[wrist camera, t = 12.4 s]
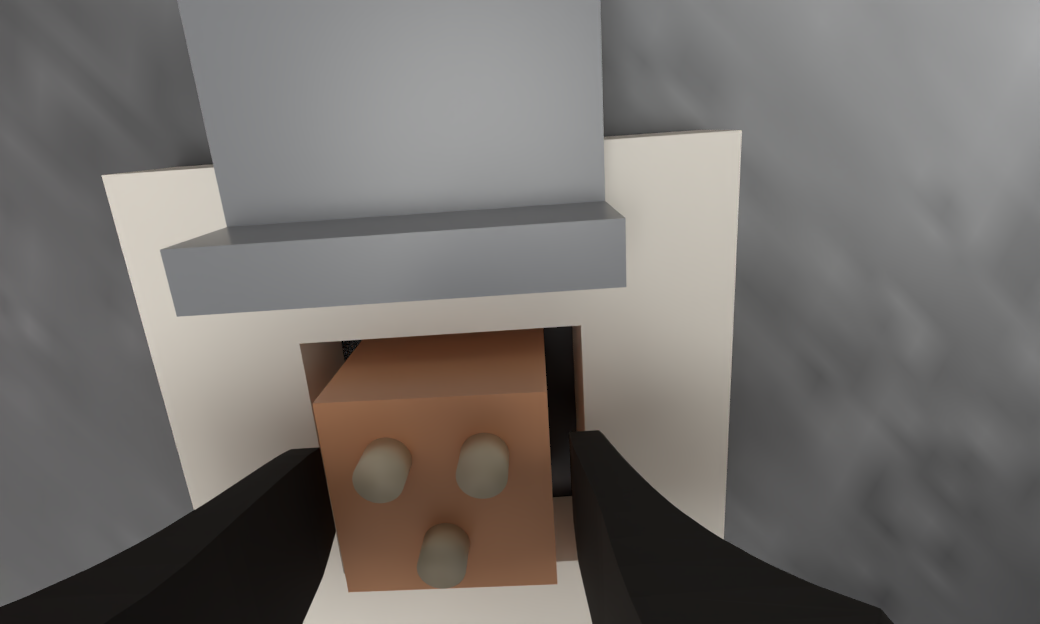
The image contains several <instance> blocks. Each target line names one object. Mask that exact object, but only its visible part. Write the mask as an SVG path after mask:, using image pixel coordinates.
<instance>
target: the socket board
mask: <svg viewBox="0 0 1040 624" xmlns="http://www.w3.org/2000/svg"><path fill="white" fill-rule="evenodd" d="M741 138H742V130H692V131H678V132H664V133H650V134H635V135H621V136H607V137H604V170H605V201H606V202H607V203H608V204H609V205H611V206H612V207H613V208H614V209H615V210H616V211H618V212H619V213H620V214H621V215H622V216H624V217H625V218H626V287H620V288H604V289H589V290H574V291H559V292H544V293H529V294H514V295H498V296H483V297H468V298H453V299H438V300H423V301H408V302H392V303H377V304H362V305H347V306H332V307H317V308H302V309H286V310H271V311H256V312H241V313H226V314H211V315H196V316H180V317H177V315H176V311H175V307H174V304H173V300H172V296H171V292H170V288H169V284H168V280H167V276H166V272H165V269H164V265H163V261H162V257H161V253H160V250H161V249H164V248H166V247H169V246H172V245H175V244H178V243H181V242H184V241H187V240H190V239H193V238H196V237H199V236H202V235H205V234H208V233H211V232H214V231H217V230H220V229H223V228H226V227H227V225H226V221H225V216H224V212H223V207H222V202H221V198H220V193H219V189H218V184H217V180H216V175H215V170H214V166H213V164H211V165H197V166H183V167H171V168H163V169H154V170H145V171H136V172H127V173H118V174H109V175H102V179H103V182H104V186H105V190H106V193H107V197H108V200H109V204H110V208H111V211H112V215H113V219H114V222H115V226H116V229H117V233H118V237H119V240H120V244H121V248H122V251H123V255H124V258H125V262H126V266H127V269H128V273H129V276H130V280H131V284H132V287H133V291H134V295H135V298H136V302H137V305H138V309H139V313H140V316H141V320H142V323H143V327H144V331H145V334H146V338H147V342H148V345H149V349H150V352H151V356H152V360H153V363H154V367H155V371H156V374H157V378H158V381H159V385H160V389H161V392H162V396H163V399H164V403H165V407H166V410H167V414H168V418H169V421H170V425H171V428H172V432H173V436H174V439H175V443H176V447H177V450H178V454H179V457H180V461H181V465H182V468H183V472H184V475H185V479H186V483H187V486H188V490H189V494H190V497H191V501H192V504H193V508H194V510H195V509H197V508H199V507H200V506H202V505H203V504H205V503H207V502H208V501H210V500H211V499H213V498H214V497H216V496H217V495H219V494H220V493H222V492H224V491H225V490H227V489H228V488H230V487H231V486H233V485H234V484H236V483H237V482H239V481H240V480H242V479H243V478H245V477H246V476H248V475H249V474H251V473H252V472H254V471H255V470H257V469H258V468H260V467H261V466H263V465H264V464H266V463H268V462H269V461H271V460H272V459H274V458H276V457H277V456H279V455H281V454H282V453H284V452H286V451H288V450H290V449H301V448H317V447H320V450H321V446H320V441H319V435H318V430H317V425H316V420H315V414H314V409H313V404H312V403H313V402H314V401H315V400H316V398H317V397H318V396H319V395H320V393H321V392H322V391H323V389H324V388H325V387H326V386H327V384H328V383H329V382H330V381H331V379H332V378H333V377H334V375H335V374H336V373H337V372H338V370H339V369H340V368H341V366H342V365H343V364H344V363H345V360H344V354H343V348H342V342H341V341H348V340H363V339H379V338H394V337H409V336H425V335H440V334H456V333H471V332H486V331H502V330H517V329H533V328H548V327H563V326H572V336H573V359H574V382H575V405H576V428H577V431H593V430H599V431H600V432H601V433H603V434H604V435H605V437H606V438H607V439H608V440H609V442H610V443H611V444H612V445H613V446H614V447H615V449H616V450H617V451H618V452H619V453H620V454H621V455H622V456H623V458H624V459H625V460H626V461H627V462H628V463H629V464H630V465H631V466H632V467H633V468H634V469H635V470H636V471H637V472H638V473H639V474H640V475H641V476H642V477H643V478H644V479H645V480H646V481H647V482H648V483H649V484H650V485H651V486H652V487H653V488H654V489H655V490H657V491H658V492H659V493H660V494H661V495H662V496H663V497H665V498H666V499H667V500H668V501H669V502H670V503H672V504H673V505H674V506H675V507H677V508H678V509H679V510H681V511H682V512H683V513H685V514H686V515H687V516H689V517H690V518H692V519H693V520H695V521H696V522H698V523H699V524H700V525H702V526H703V527H705V528H706V529H708V530H709V531H711V532H712V533H714V534H716V535H717V536H719V537H720V538H722V539H724V523H725V501H726V478H727V455H728V433H729V410H730V387H731V365H732V342H733V319H734V297H735V274H736V251H737V229H738V206H739V183H740V161H741ZM321 455H322V451H321ZM322 461H323V456H322ZM323 466H324V462H323ZM324 471H325V467H324ZM325 476H326V472H325ZM326 481H327V477H326ZM327 486H328V483H327ZM328 492H329V488H328ZM329 497H330V493H329ZM330 502H331V498H330ZM331 507H332V504H331ZM553 510H554V528H555V547H556V565H557V583H558V584H553V585H527V586H501V587H474V588H448V589H422V590H396V591H370V592H348V587H347V582H346V577H345V572H344V566H343V561H342V556H341V551H340V545H339V540H338V535H337V530H336V533H335V537H334V541H333V544H332V548H331V552H330V556H329V559H328V562H327V565H326V569H325V572H324V575H323V578H322V580H321V583H320V585H319V587H318V590H317V592H316V594H315V597H314V599H313V601H312V603H311V606H310V608H309V610H308V613H307V615H306V617H305V619H304V622H303V624H592V620H591V615H590V611H589V607H588V603H587V598H586V594H585V590H584V585H583V581H582V577H581V572H580V568H579V563H578V556H577V548H576V539H575V530H574V522H573V507H572V496H565V497H553ZM332 512H333V509H332ZM333 518H334V514H333ZM334 523H335V519H334ZM335 528H336V525H335Z"/></svg>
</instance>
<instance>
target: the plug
mask: <svg viewBox="0 0 1040 624" xmlns="http://www.w3.org/2000/svg"><path fill="white" fill-rule="evenodd" d="M312 404H313V409H314V414H315V420H316V425H317V430H318V435H319V441H320V446H321V451H322V456H323V462H324V467H325V472H326V477H327V483H328V488H329V493H330V498H331V504H332V509H333V514H334V519H335V525H336V530H337V535H338V540H339V545H340V551H341V556H342V561H343V566H344V572H345V577H346V582H347V587H348V592H370V591H396V590H422V589H448V588H474V587H501V586H527V585H553V584H558V583H557V565H556V547H555V528H554V510H553V492H552V474H551V456H550V437H549V419H548V401H547V383H546V367H545V350H544V333H543V328H533V329H517V330H502V331H486V332H471V333H456V334H440V335H425V336H409V337H394V338H379V339H363V340H362V341H361V342H360V343H359V345H358V346H357V347H356V349H355V350H354V351H353V352H352V354H351V355H350V356H349V358H348V359H347V360H346V361H345V363H344V364H343V365H342V366H341V368H340V369H339V370H338V372H337V373H336V374H335V375H334V377H333V378H332V379H331V381H330V382H329V383H328V384H327V386H326V387H325V388H324V389H323V391H322V392H321V393H320V395H319V396H318V397H317V398H316V400H315V401H314V402H313V403H312Z"/></svg>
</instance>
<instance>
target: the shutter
mask: <svg viewBox="0 0 1040 624" xmlns="http://www.w3.org/2000/svg"><path fill="white" fill-rule="evenodd" d="M177 2H178V6H179V11H180V15H181V20H182V24H183V29H184V34H185V38H186V43H187V47H188V52H189V56H190V61H191V66H192V70H193V75H194V79H195V84H196V88H197V93H198V97H199V102H200V107H201V111H202V116H203V120H204V125H205V129H206V134H207V139H208V143H209V148H210V152H211V157H212V161H213V166H214V170H215V175H216V180H217V184H218V189H219V193H220V198H221V202H222V207H223V212H224V216H225V221H226V225H227V227H226V228H223V229H220V230H217V231H214V232H211V233H208V234H205V235H202V236H199V237H196V238H193V239H190V240H187V241H184V242H181V243H178V244H175V245H172V246H169V247H166V248H164V249H161V250H160V253H161V257H162V261H163V265H164V269H165V272H166V276H167V280H168V284H169V288H170V292H171V296H172V300H173V304H174V307H175V311H176V315H177V317H180V316H196V315H211V314H226V313H241V312H256V311H271V310H286V309H302V308H317V307H332V306H347V305H362V304H377V303H392V302H408V301H423V300H438V299H453V298H468V297H483V296H498V295H514V294H529V293H544V292H559V291H574V290H589V289H604V288H620V287H626V218H625V217H624V216H622V215H621V214H620V213H619V212H618V211H616V210H615V209H614V208H613V207H612V206H611V205H609V204H608V203H607V202H606V201H605V170H604V128H603V86H602V44H601V2H600V0H177Z"/></svg>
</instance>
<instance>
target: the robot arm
mask: <svg viewBox="0 0 1040 624" xmlns="http://www.w3.org/2000/svg"><path fill="white" fill-rule="evenodd" d="M569 444H570V465H571V486H572V507H573V522H574V530H575V539H576V548H577V556H578V563H579V568H580V572H581V577H582V581H583V585H584V590H585V594H586V598H587V603H588V607H589V611H590V615H591V620H592V624H894V623H893V622H892V621H891V620H890V619H889V618H888V617H887V615H886V614H885V613H884V612H883V611H882V610H881V609H880V608H877V607H874V606H872V605H869V604H866V603H863V602H861V601H858V600H855V599H852V598H850V597H847V596H844V595H841V594H839V593H836V592H833V591H830V590H828V589H825V588H822V587H819V586H817V585H814V584H812V583H809V582H807V581H805V580H803V579H800V578H798V577H796V576H794V575H791V574H789V573H787V572H785V571H783V570H780V569H778V568H776V567H774V566H772V565H770V564H768V563H766V562H764V561H762V560H760V559H758V558H756V557H754V556H752V555H750V554H748V553H747V552H745V551H743V550H741V549H740V548H738V547H736V546H734V545H732V544H731V543H729V542H727V541H725V540H724V539H722V538H720V537H719V536H717V535H716V534H714V533H712V532H711V531H709V530H708V529H706V528H705V527H703V526H702V525H700V524H699V523H698V522H696V521H695V520H693V519H692V518H690V517H689V516H687V515H686V514H685V513H683V512H682V511H681V510H679V509H678V508H677V507H675V506H674V505H673V504H672V503H670V502H669V501H668V500H667V499H666V498H665V497H663V496H662V495H661V494H660V493H659V492H658V491H657V490H655V489H654V488H653V487H652V486H651V485H650V484H649V483H648V482H647V481H646V480H645V479H644V478H643V477H642V476H641V475H640V474H639V473H638V472H637V471H636V470H635V469H634V468H633V467H632V466H631V465H630V464H629V463H628V462H627V461H626V460H625V459H624V458H623V456H622V455H621V454H620V453H619V452H618V451H617V450H616V449H615V447H614V446H613V445H612V444H611V443H610V442H609V440H608V439H607V438H606V437H605V435H604V434H603V433H601V432H600V431H599V430H593V431H576V432H569ZM335 533H336V528H335V523H334V518H333V512H332V507H331V502H330V497H329V492H328V486H327V481H326V476H325V471H324V466H323V461H322V455H321V450H320V447H317V448H301V449H290V450H288V451H286V452H284V453H282V454H281V455H279V456H277V457H276V458H274V459H272V460H271V461H269V462H268V463H266V464H264V465H263V466H261V467H260V468H258V469H257V470H255V471H254V472H252V473H251V474H249V475H248V476H246V477H245V478H243V479H242V480H240V481H239V482H237V483H236V484H234V485H233V486H231V487H230V488H228V489H227V490H225V491H224V492H222V493H220V494H219V495H217V496H216V497H214V498H213V499H211V500H210V501H208V502H207V503H205V504H203V505H202V506H200V507H199V508H197V509H195V510H194V511H192V512H190V513H189V514H187V515H186V516H184V517H182V518H181V519H179V520H177V521H176V522H174V523H172V524H171V525H169V526H168V527H166V528H164V529H163V530H161V531H159V532H158V533H156V534H154V535H152V536H151V537H149V538H147V539H145V540H143V541H142V542H140V543H138V544H136V545H134V546H132V547H131V548H129V549H127V550H125V551H123V552H121V553H119V554H117V555H115V556H113V557H111V558H109V559H107V560H105V561H103V562H101V563H99V564H97V565H95V566H93V567H91V568H89V569H87V570H85V571H82V572H80V573H78V574H76V575H74V576H71V577H69V578H67V579H65V580H62V581H60V582H58V583H56V584H54V585H51V586H49V587H47V588H45V589H42V590H40V591H38V592H36V593H34V594H31V595H29V596H27V597H24V598H22V599H19V600H17V601H14V602H12V603H9V604H7V605H4V606H2V607H0V624H303V622H304V619H305V617H306V615H307V613H308V610H309V608H310V606H311V603H312V601H313V599H314V597H315V594H316V592H317V590H318V587H319V585H320V583H321V580H322V578H323V575H324V572H325V569H326V565H327V562H328V559H329V556H330V552H331V548H332V544H333V541H334V537H335Z"/></svg>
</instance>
